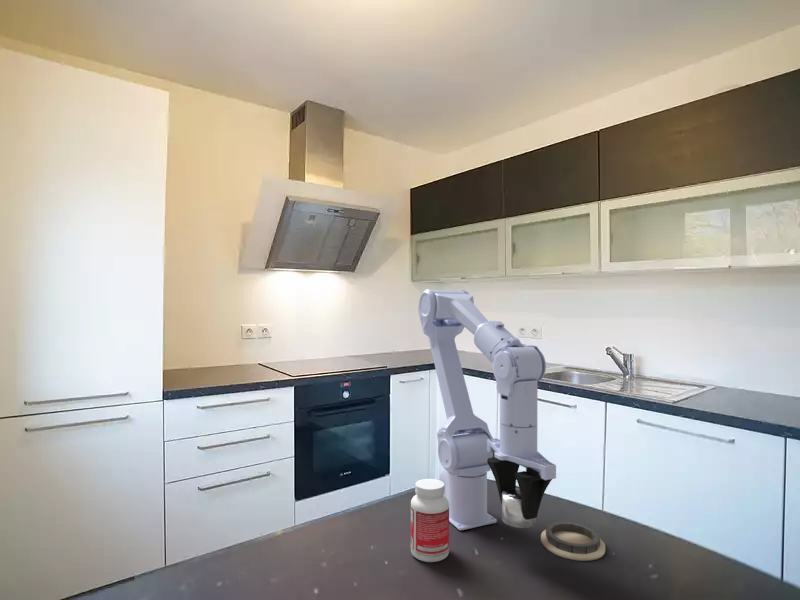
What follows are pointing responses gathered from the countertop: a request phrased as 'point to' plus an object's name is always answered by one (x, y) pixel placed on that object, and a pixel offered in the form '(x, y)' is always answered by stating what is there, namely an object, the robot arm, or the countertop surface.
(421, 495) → the pill bottle
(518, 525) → the lens
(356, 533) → the countertop surface
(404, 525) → the countertop surface
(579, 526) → the mount
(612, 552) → the countertop surface
